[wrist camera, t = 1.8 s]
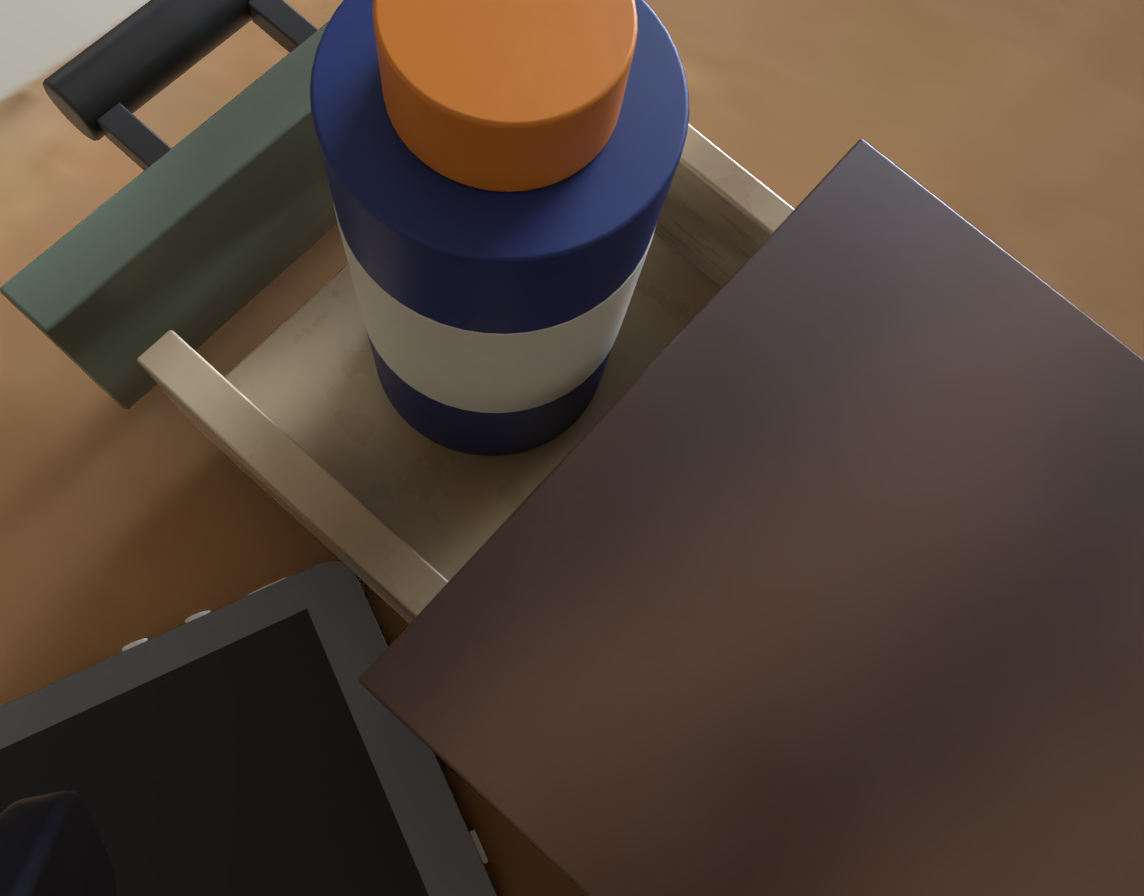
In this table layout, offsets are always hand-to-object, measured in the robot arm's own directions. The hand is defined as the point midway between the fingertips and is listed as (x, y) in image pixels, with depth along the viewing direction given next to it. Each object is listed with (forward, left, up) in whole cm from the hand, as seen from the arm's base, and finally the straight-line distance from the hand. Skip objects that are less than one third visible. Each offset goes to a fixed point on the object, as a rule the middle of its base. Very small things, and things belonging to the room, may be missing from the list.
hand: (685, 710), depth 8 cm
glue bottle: (+5, +6, -11) cm, 14 cm away
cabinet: (+5, -4, -13) cm, 15 cm away
